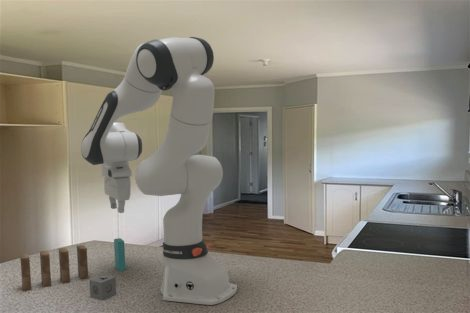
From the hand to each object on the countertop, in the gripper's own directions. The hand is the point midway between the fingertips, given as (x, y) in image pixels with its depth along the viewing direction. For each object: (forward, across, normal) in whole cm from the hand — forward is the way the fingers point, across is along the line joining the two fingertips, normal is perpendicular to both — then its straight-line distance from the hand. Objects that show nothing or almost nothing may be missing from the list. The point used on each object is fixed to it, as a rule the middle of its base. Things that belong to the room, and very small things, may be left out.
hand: (117, 210), depth 140 cm
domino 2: (+20, +1, -23) cm, 31 cm away
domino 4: (+20, +1, -12) cm, 24 cm away
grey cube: (+20, +22, -11) cm, 31 cm away
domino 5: (+20, 0, 0) cm, 20 cm away
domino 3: (+20, +1, -18) cm, 27 cm away
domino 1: (+20, +1, -29) cm, 35 cm away
